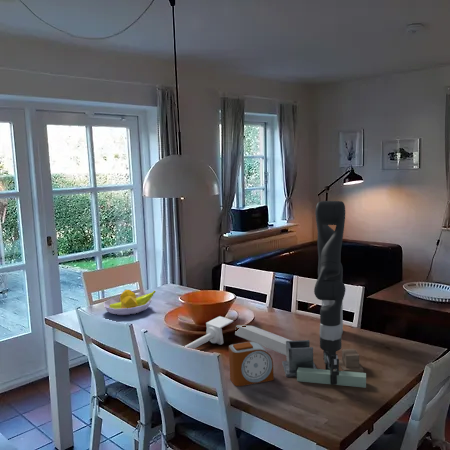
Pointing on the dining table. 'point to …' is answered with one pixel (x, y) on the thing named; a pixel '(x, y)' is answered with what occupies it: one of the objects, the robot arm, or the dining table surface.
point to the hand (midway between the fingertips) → (331, 379)
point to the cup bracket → (298, 357)
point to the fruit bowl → (128, 303)
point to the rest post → (350, 361)
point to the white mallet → (212, 332)
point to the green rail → (324, 377)
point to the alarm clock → (249, 364)
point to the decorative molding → (263, 338)
